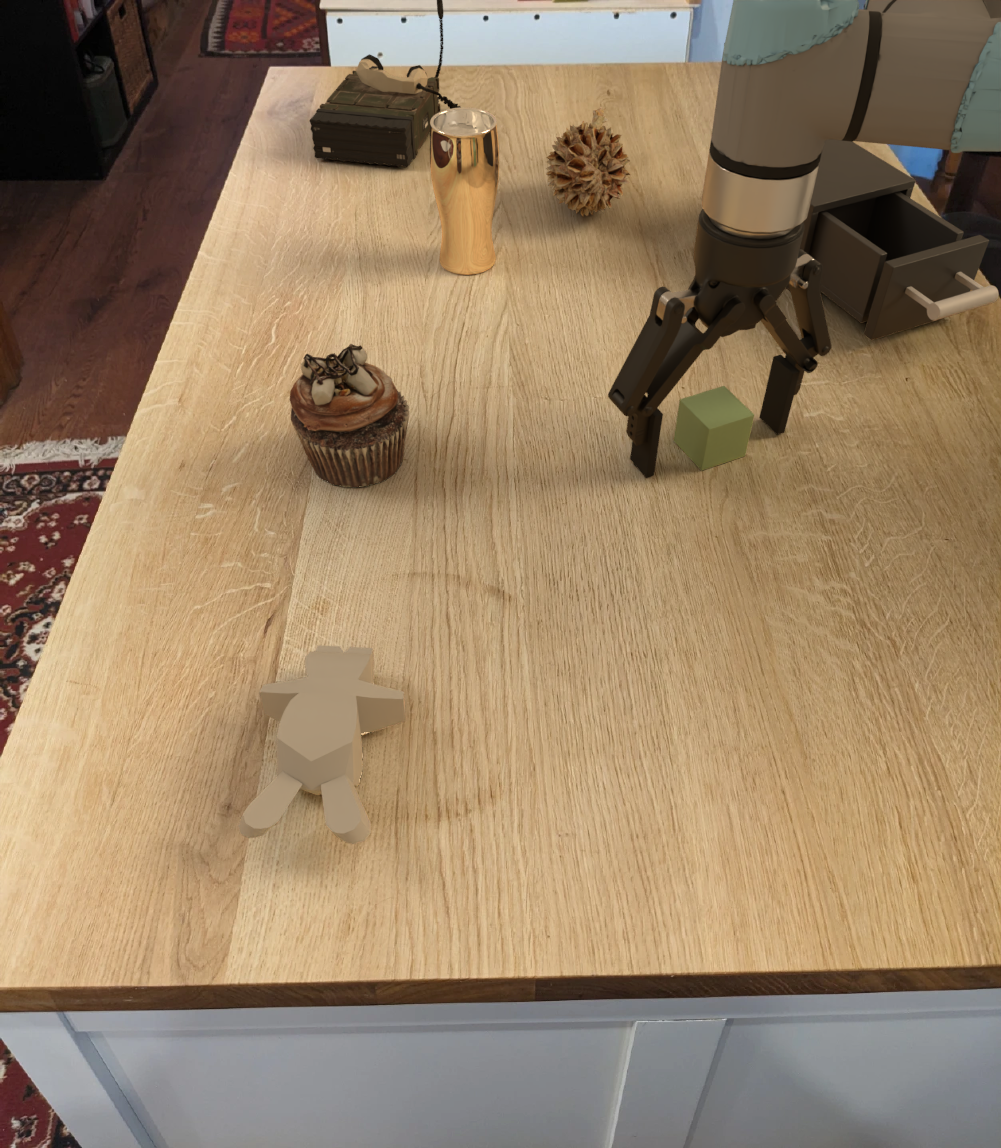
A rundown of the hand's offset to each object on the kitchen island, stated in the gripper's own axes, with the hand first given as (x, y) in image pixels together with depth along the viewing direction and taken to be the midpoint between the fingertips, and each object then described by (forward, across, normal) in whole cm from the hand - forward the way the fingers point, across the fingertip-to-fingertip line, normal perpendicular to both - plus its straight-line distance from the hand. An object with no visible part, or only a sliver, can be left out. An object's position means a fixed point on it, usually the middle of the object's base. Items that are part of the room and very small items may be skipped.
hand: (708, 446), depth 88 cm
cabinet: (0, -28, -25) cm, 38 cm away
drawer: (-1, -28, -11) cm, 30 cm away
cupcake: (0, +28, -12) cm, 30 cm away
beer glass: (0, +6, -38) cm, 38 cm away
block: (0, 0, 0) cm, 0 cm away
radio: (+1, 0, -72) cm, 72 cm away
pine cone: (0, -13, -46) cm, 48 cm away
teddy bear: (0, +40, +16) cm, 43 cm away
